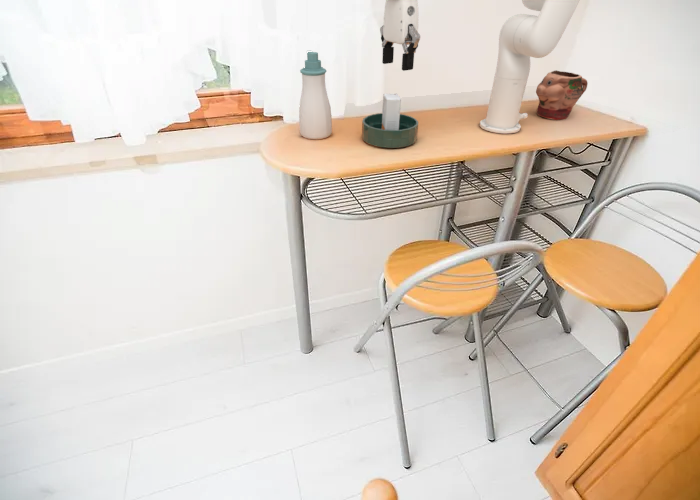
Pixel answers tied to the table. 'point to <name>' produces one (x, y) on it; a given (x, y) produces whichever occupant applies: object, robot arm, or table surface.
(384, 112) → the cosmetic box
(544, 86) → the decorative planter
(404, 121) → the bowl
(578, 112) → the table surface
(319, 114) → the soap bottle
